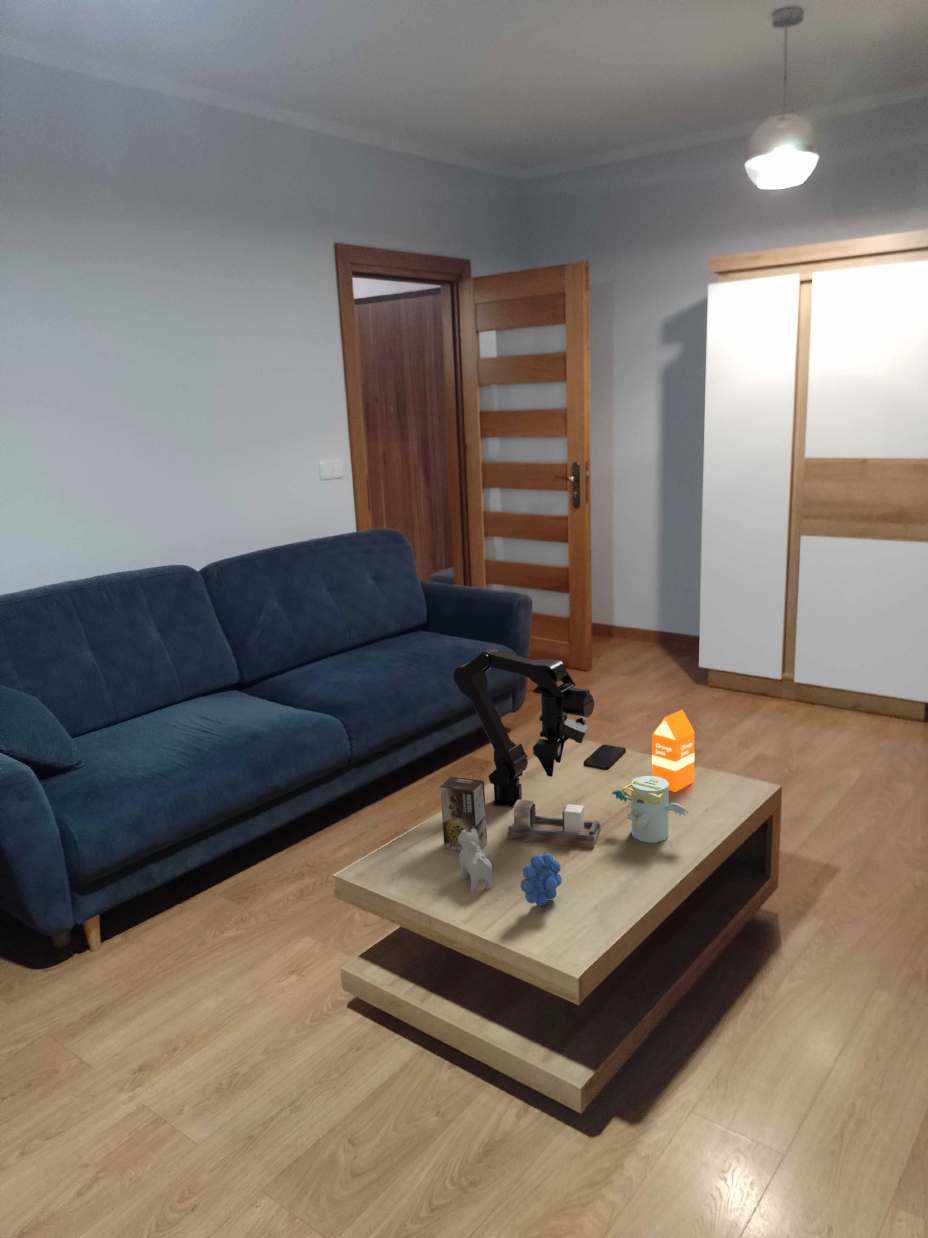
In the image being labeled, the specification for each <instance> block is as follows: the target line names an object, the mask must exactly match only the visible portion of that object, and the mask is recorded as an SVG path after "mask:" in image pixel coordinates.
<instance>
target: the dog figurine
mask: <svg viewBox="0 0 928 1238" xmlns="http://www.w3.org/2000/svg"><path fill="white" fill-rule="evenodd" d="M458 842H459V843H460V844H461V845H462V850H461V851H459V852H460V853H459V863H460V864H459V865H460V871H461V876H460V877H461V879H467V878H468V872H469V877H470V882H471V883H470V893H475V892H477V885H478V881H479V880H482V881H485V882H486V886H485V887H484V888H485V889H492V888H493V884H492V872H493V866H492V863H491V862H490V860H489V859H488V858H486V854H485V852H484V851H483V849H481V847H480V846H479V837H478V835H477V831H476V829H471V832H468V833H467V832H466V830H462V831H461V834H460V835H459V836H458Z"/></svg>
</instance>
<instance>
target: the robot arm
mask: <svg viewBox="0 0 928 1238" xmlns="http://www.w3.org/2000/svg"><path fill="white" fill-rule="evenodd" d="M490 669H496V670H500V671H503V672H506V673H509V674H510V673H511V674H515V675H518V676H522V677H526V678H528V679H529V680H530V681H531V682H532V683H534V684H536V685H537V686H536V687H535V688H534V689H532V693H533V694H540V710H541V711H540V713H541V715H539V717H538V718H539V719H538V720H539V722H541V731H539V737H542V738H538V740H537V741H536V742H535V743H534V744H533V746H532V754H533V755H534V756H535V757H536V758H537V759H538V761H539V762H540V764H541V766H542V768H543V769H544V772H545V773H546V775H547V777H549V778H552V777H553V775H554V769H555V768H554V767H555V763H557V764H560V763H561V762H562V757H563V753H564V749H565V744H566V741H568V740H569V739H570V740H572V741H574V742H575V743H578V744H582V743H583V741H584V739H585V737H586V734H587V732H588V729H589V727H588V725H587V724H586V723H587V722H586V718H590V717H591V716H592V714H593V712H594V709H595V700H594V696H593V695H592V694H591V690H590V688H577V686H576V683H575V681H574V680H573V678H572V677H571V675H570V674H569V672H568V671H567V668H566V666H565V663H564V662H563V661H562V660H559V659H548V658H545V659H544V658H543V659H531V658H527V657H523V656H519V655H516V654H511V653H508V652H503V651H499V650H497V649H496V648H488V649H487V650H485V651H482V652H481V653H479V655H478V656H476V657H475V658H473V660H471V661H469V662H467V663H465V664H462V665H460V666H457V668H455V669H454V673H453V675H452V679H453V682H454V683H455V685H456V687H457V689H458V690H459V691H460V693H462V694H463V695H464V696H466V697H467V698H468V699H469V700H470V701H471V704H472V706H473V708H474V709H475V712H476V713H477V716H478V718H479V720H480V723H481V724H482V727H483V729H484V731H485V734H486V735H487V737H488V739H489V741H490V743H491V745H492V748H493V763H494V766H495V769H494V770H493V771H492V772H491V773H489V775H488V779H489V783H490V784H491V785H493V793H494V794H493V801H492V805H493V806H501V807H503V806H505V807H512V808H514V805H515V803H516V802H517V800H523V799H522V798H523V793H522V789H523V788H522V784H521V783H520V777H522V776H523V773H524V771H526V770H527V768H528V764H529V762H528V757H529V756H528V754H527V753H526V752H525V750H524V747H523V744H522V743H518V744H516V743H514V741H512V740H511V738H510V736H509V734H508V732H507V730H506V728H505V726H504V724H503V722H502V719H501V717H500V716H499V713H498V711H497V709H496V707H495V705H494V702H493V700H492V698H491V696H490V694H489V691H488V678H487V675H486V673H487V672H488V671H489V670H490ZM561 682H562V684H560V683H561ZM558 684H560V685H558ZM568 715H571V716H577V718H576V719H569V718H568ZM543 737H544V738H543Z"/></svg>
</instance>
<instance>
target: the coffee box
mask: <svg viewBox="0 0 928 1238" xmlns="http://www.w3.org/2000/svg"><path fill="white" fill-rule="evenodd" d="M439 791H440V792H439V794H440V805H441V808H440V809H441V817H442V818H441V819H442V832H443V833H442V834H443V835H442V836H443V848H444V849H447V850H454V851H459V852H461V850H462V845H461V844H460V843H459V842H458V836H459V835H460V834H461V831H462V830H466V832H467V833H468V832H471V829H476V831H477V835H478V837H479V846H480V847H481V850H483V848H484V847H485V846H486V845H487V844H488V834H487V833H488V832H487V831H488V829H487V813H486V796H485V794H486V793H485V781H484V780H482V779H481V780H480V779H473V778H464V777H457V776H450V777H449V778H448V779H446V781H444V782H443V783H442V784H441V785H440V786H439Z"/></svg>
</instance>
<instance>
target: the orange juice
mask: <svg viewBox="0 0 928 1238" xmlns="http://www.w3.org/2000/svg"><path fill="white" fill-rule="evenodd" d="M651 736H652V737H651V740H652V741H651V747H652V748H651V749H652V750H651V751H652V752H651V770H652V771H651V774H652V775H651V776H655V777H660V778H663V779H665V780H667V782H668V784H669V791H671V792H674V793H676V792H678V791H679V790H681V789H684V788H686V787H687V786H689V785H691V784H693V783H694V782H695V730H694V728H693V727H692V724H691V722H690V720H689V719H688V717H687V715H686V713H685V712H684V709H680V710H679V711H676V712H674V713H672V714H669V715H667V716H665V717H664V718H663V719H662V721H661V722H660V724H659V725H658V726H657V727H656V729H655V730H654V732H653V733H652V734H651Z"/></svg>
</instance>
